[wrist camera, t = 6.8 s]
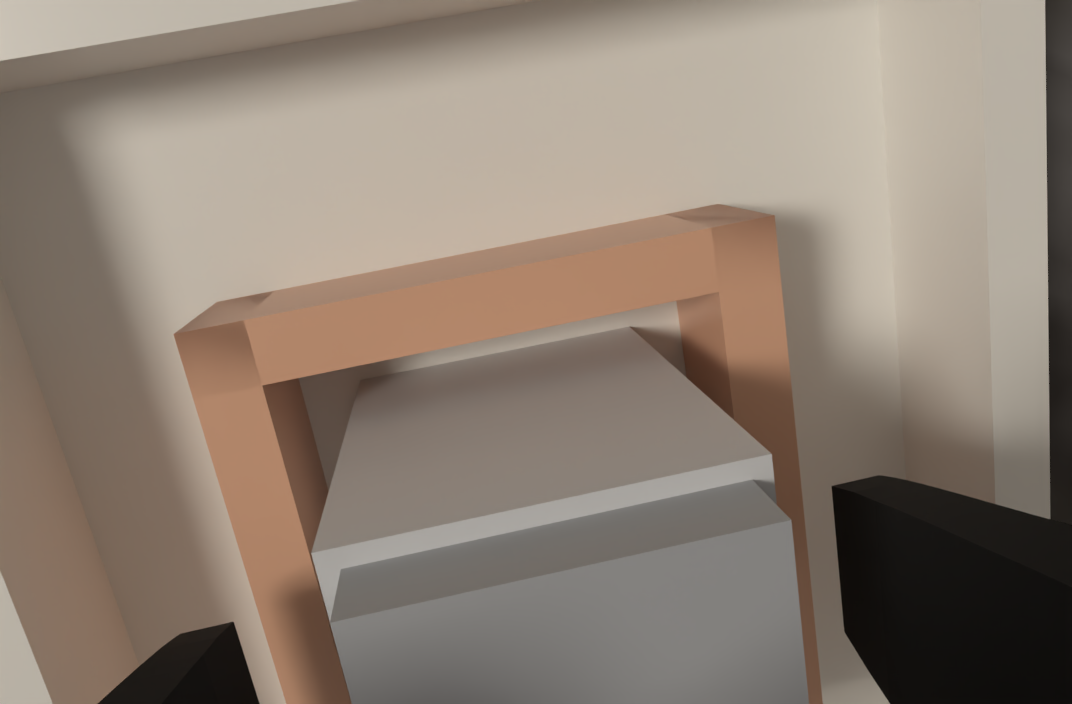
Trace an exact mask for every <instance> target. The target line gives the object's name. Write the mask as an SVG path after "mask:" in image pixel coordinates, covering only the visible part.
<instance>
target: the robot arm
mask: <svg viewBox="0 0 1072 704" xmlns="http://www.w3.org/2000/svg"><path fill="white" fill-rule="evenodd" d="M831 487H832V498H833V510H834V521H835V532H836V544H837V555H838V566H839V578H840V589H841V600H842V612H843V623H844V632H845V634H846V635H847V637H848V639H849V640H850V642H851V644H852V645H853V647H854V648H855V650H856V652H857V653H858V655H859V657H860V658H861V660H862V661H863V663H864V665H865V666H866V668H867V670H868V671H869V673H870V674H871V676H872V677H873V679H874V680H875V682H876V683H877V685H878V686H879V688H880V689H881V691H882V692H883V694H884V695H885V697H886V698H887V700H888V701H889V703H890V704H1072V525H1069V524H1066V523H1062V522H1058V521H1054V520H1051V519H1047V518H1043V517H1040V516H1036V515H1033V514H1029V513H1025V512H1022V511H1018V510H1015V509H1011V508H1008V507H1004V506H1000V505H997V504H993V503H990V502H986V501H983V500H979V499H976V498H972V497H969V496H965V495H962V494H958V493H954V492H951V491H947V490H944V489H940V488H936V487H932V486H928V485H925V484H921V483H917V482H913V481H908V480H904V479H899V478H894V477H888V476H882V475H878V476H873V477H869V478H864V479H860V480H855V481H851V482H847V483H842V484H838V485H833V486H831ZM98 704H260V703H259V700H258V697H257V694H256V691H255V688H254V684H253V681H252V678H251V675H250V672H249V669H248V665H247V662H246V659H245V656H244V653H243V650H242V646H241V643H240V640H239V637H238V634H237V631H236V627H235V624H234V622H229V623H225V624H221V625H216V626H212V627H207V628H203V629H198V630H194V631H190V632H185V633H181V634H179V635H178V636H176V637H175V638H173V639H172V640H171V641H169V642H168V643H166V644H165V645H164V646H163V647H161V648H160V649H159V650H158V651H156V652H155V653H154V654H153V655H152V656H151V657H149V658H148V659H147V660H146V661H145V662H144V663H142V664H141V665H140V666H139V667H138V668H137V669H135V670H134V671H133V672H132V673H131V674H130V675H129V676H128V677H127V678H125V679H124V680H123V681H122V682H121V683H120V684H119V685H118V686H116V687H115V688H114V689H113V690H112V691H111V692H110V693H109V694H108V695H106V696H105V697H104V698H103V699H102V700H101V701H100V702H99V703H98Z"/></svg>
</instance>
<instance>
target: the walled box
mask: <svg viewBox="0 0 1072 704" xmlns="http://www.w3.org/2000/svg"><path fill="white" fill-rule="evenodd" d="M624 327H630V328H631V329H632V330H634V331H635V332H636V333H637V334H638V335H639V336H640V337H641V338H643V339H644V340H645V341H646V342H647V343H648V344H649V345H650V346H652V347H653V348H654V349H655V350H656V351H657V352H658V353H659V354H660V355H662V356H663V357H664V358H665V359H666V360H667V361H668V362H669V363H671V364H672V365H673V366H674V367H675V368H676V369H677V370H678V371H680V372H681V373H682V374H683V375H684V376H685V377H686V378H687V379H688V380H690V381H691V382H692V383H693V384H694V385H695V386H696V387H697V388H699V389H700V390H701V391H702V392H703V393H704V394H705V395H706V396H708V397H709V398H710V399H711V400H712V401H713V402H714V403H715V404H716V405H718V406H719V407H720V408H721V409H722V410H723V411H724V412H725V413H727V414H728V415H729V416H730V417H731V418H732V419H733V420H734V421H736V422H737V423H738V424H739V425H740V426H741V427H742V428H743V429H744V430H746V431H747V432H748V433H749V434H750V435H751V436H752V437H753V438H755V439H756V440H757V441H758V442H759V443H760V444H761V445H762V446H764V447H765V448H766V449H767V450H768V451H769V452H770V453H771V454H772V461H773V471H774V481H775V491H776V501H777V506H778V507H779V508H780V509H781V510H782V511H783V512H784V513H785V514H786V515H787V516H788V517H789V518H790V519H791V522H792V532H793V542H794V553H795V563H796V574H797V584H798V594H799V605H800V615H801V625H802V636H803V646H804V657H805V667H806V677H807V688H808V698H809V704H890V703H889V701H888V700H887V698H886V697H885V695H884V694H883V692H882V691H881V689H880V688H879V686H878V685H877V683H876V682H875V680H874V679H873V677H872V676H871V674H870V673H869V671H868V670H867V668H866V666H865V665H864V663H863V661H862V660H861V658H860V657H859V655H858V653H857V652H856V650H855V648H854V647H853V645H852V644H851V642H850V640H849V639H848V637H847V635H846V634H845V632H844V623H843V612H842V600H841V589H840V578H839V566H838V555H837V544H836V532H835V521H834V510H833V498H832V487H831V486H833V485H838V484H842V483H847V482H851V481H855V480H860V479H864V478H869V477H873V476H878V475H882V476H888V477H894V478H899V479H904V480H908V481H913V482H917V483H921V484H925V485H928V486H932V487H936V488H940V489H944V490H947V491H951V492H954V493H958V494H962V495H965V496H969V497H972V498H976V499H979V500H983V501H986V502H990V503H993V504H997V505H1000V506H1004V507H1008V508H1011V509H1015V510H1018V511H1022V512H1025V513H1029V514H1033V515H1036V516H1040V517H1043V518H1047V519H1050V433H1049V335H1048V238H1047V140H1046V43H1045V0H0V704H98V703H99V702H100V701H101V700H102V699H103V698H104V697H105V696H106V695H108V694H109V693H110V692H111V691H112V690H113V689H114V688H115V687H116V686H118V685H119V684H120V683H121V682H122V681H123V680H124V679H125V678H127V677H128V676H129V675H130V674H131V673H132V672H133V671H134V670H135V669H137V668H138V667H139V666H140V665H141V664H142V663H144V662H145V661H146V660H147V659H148V658H149V657H151V656H152V655H153V654H154V653H155V652H156V651H158V650H159V649H160V648H161V647H163V646H164V645H165V644H166V643H168V642H169V641H171V640H172V639H173V638H175V637H176V636H178V635H179V634H181V633H185V632H190V631H194V630H198V629H203V628H207V627H212V626H216V625H221V624H225V623H229V622H234V624H235V627H236V631H237V634H238V637H239V640H240V643H241V646H242V650H243V653H244V656H245V659H246V662H247V665H248V669H249V672H250V675H251V678H252V681H253V684H254V688H255V691H256V694H257V697H258V700H259V703H260V704H352V702H351V699H350V695H349V691H348V688H347V684H346V680H345V677H344V673H343V669H342V666H341V662H340V658H339V655H338V651H337V647H336V644H335V640H334V636H333V633H332V629H331V625H330V621H329V617H328V613H327V610H326V606H325V602H324V599H323V595H322V591H321V587H320V584H319V580H318V576H317V573H316V569H315V565H314V562H313V558H312V554H311V552H312V548H313V545H314V541H315V538H316V534H317V531H318V527H319V524H320V520H321V517H322V513H323V510H324V506H325V503H326V499H327V496H328V492H329V489H330V485H331V482H332V478H333V475H334V471H335V468H336V464H337V461H338V457H339V454H340V450H341V447H342V443H343V440H344V436H345V433H346V429H347V426H348V422H349V419H350V415H351V412H352V408H353V404H354V401H355V397H356V394H357V390H358V387H359V383H360V380H363V379H368V378H373V377H378V376H383V375H388V374H393V373H398V372H403V371H408V370H413V369H418V368H424V367H429V366H434V365H439V364H444V363H449V362H454V361H459V360H464V359H469V358H474V357H479V356H484V355H489V354H494V353H499V352H504V351H509V350H514V349H519V348H524V347H529V346H534V345H539V344H544V343H549V342H554V341H559V340H564V339H569V338H574V337H579V336H584V335H589V334H594V333H599V332H604V331H609V330H614V329H619V328H624Z"/></svg>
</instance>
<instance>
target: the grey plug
mask: <svg viewBox="0 0 1072 704" xmlns="http://www.w3.org/2000/svg"><path fill="white" fill-rule="evenodd" d="M311 554H312V558H313V562H314V565H315V569H316V573H317V576H318V580H319V584H320V587H321V591H322V595H323V599H324V602H325V606H326V610H327V613H328V617H329V621H330V625H331V629H332V633H333V636H334V640H335V644H336V647H337V651H338V655H339V658H340V662H341V666H342V669H343V673H344V677H345V680H346V684H347V688H348V691H349V695H350V699H351V702H352V704H809V698H808V688H807V677H806V667H805V657H804V646H803V636H802V625H801V615H800V605H799V594H798V584H797V574H796V563H795V553H794V542H793V532H792V522H791V519H790V518H789V517H788V516H787V515H786V514H785V513H784V512H783V511H782V510H781V509H780V508H779V507H778V506H777V501H776V491H775V481H774V471H773V461H772V454H771V453H770V452H769V451H768V450H767V449H766V448H765V447H764V446H762V445H761V444H760V443H759V442H758V441H757V440H756V439H755V438H753V437H752V436H751V435H750V434H749V433H748V432H747V431H746V430H744V429H743V428H742V427H741V426H740V425H739V424H738V423H737V422H736V421H734V420H733V419H732V418H731V417H730V416H729V415H728V414H727V413H725V412H724V411H723V410H722V409H721V408H720V407H719V406H718V405H716V404H715V403H714V402H713V401H712V400H711V399H710V398H709V397H708V396H706V395H705V394H704V393H703V392H702V391H701V390H700V389H699V388H697V387H696V386H695V385H694V384H693V383H692V382H691V381H690V380H688V379H687V378H686V377H685V376H684V375H683V374H682V373H681V372H680V371H678V370H677V369H676V368H675V367H674V366H673V365H672V364H671V363H669V362H668V361H667V360H666V359H665V358H664V357H663V356H662V355H660V354H659V353H658V352H657V351H656V350H655V349H654V348H653V347H652V346H650V345H649V344H648V343H647V342H646V341H645V340H644V339H643V338H641V337H640V336H639V335H638V334H637V333H636V332H635V331H634V330H632V329H631V328H630V327H624V328H619V329H614V330H609V331H604V332H599V333H594V334H589V335H584V336H579V337H574V338H569V339H564V340H559V341H554V342H549V343H544V344H539V345H534V346H529V347H524V348H519V349H514V350H509V351H504V352H499V353H494V354H489V355H484V356H479V357H474V358H469V359H464V360H459V361H454V362H449V363H444V364H439V365H434V366H429V367H424V368H418V369H413V370H408V371H403V372H398V373H393V374H388V375H383V376H378V377H373V378H368V379H363V380H360V383H359V387H358V390H357V394H356V397H355V401H354V404H353V408H352V412H351V415H350V419H349V422H348V426H347V429H346V433H345V436H344V440H343V443H342V447H341V450H340V454H339V457H338V461H337V464H336V468H335V471H334V475H333V478H332V482H331V485H330V489H329V492H328V496H327V499H326V503H325V506H324V510H323V513H322V517H321V520H320V524H319V527H318V531H317V534H316V538H315V541H314V545H313V548H312V552H311Z"/></svg>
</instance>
